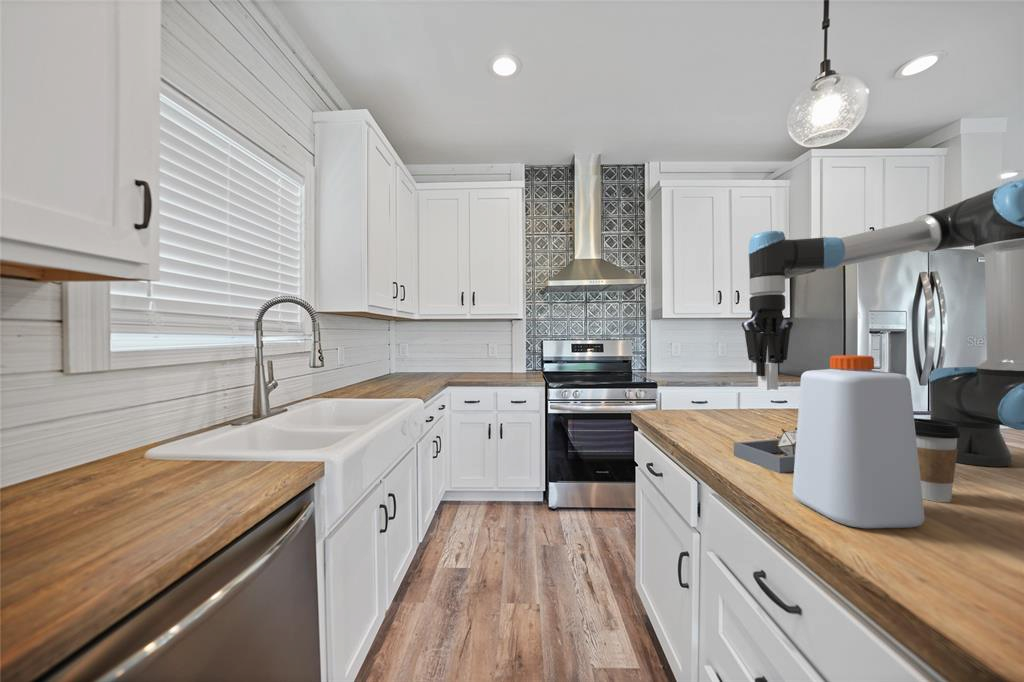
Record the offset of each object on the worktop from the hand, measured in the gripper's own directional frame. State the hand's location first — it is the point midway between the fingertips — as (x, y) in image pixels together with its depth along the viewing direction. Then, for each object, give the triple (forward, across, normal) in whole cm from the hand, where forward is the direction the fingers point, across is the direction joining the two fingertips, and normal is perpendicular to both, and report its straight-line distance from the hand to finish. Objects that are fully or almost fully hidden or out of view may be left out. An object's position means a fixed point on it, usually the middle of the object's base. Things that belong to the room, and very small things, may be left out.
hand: (768, 388), depth 99 cm
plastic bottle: (+19, +9, +27) cm, 34 cm away
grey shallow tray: (+18, -5, 0) cm, 19 cm away
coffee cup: (+19, -12, +25) cm, 33 cm away
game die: (+19, -8, 0) cm, 20 cm away
